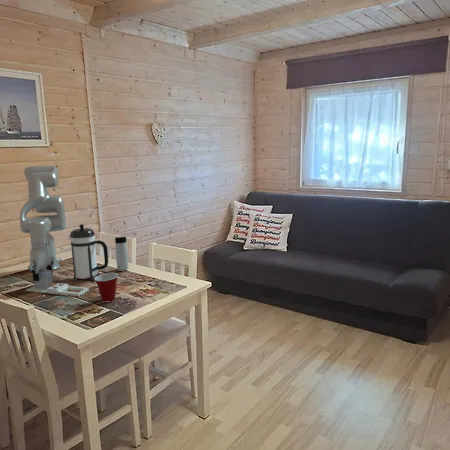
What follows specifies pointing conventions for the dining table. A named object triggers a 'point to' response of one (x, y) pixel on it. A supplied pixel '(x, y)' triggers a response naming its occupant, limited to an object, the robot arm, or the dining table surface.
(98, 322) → the dining table surface
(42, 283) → the medicine box
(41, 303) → the dining table surface
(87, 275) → the coffee press
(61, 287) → the power strip dock
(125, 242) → the travel mug
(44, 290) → the sage mat
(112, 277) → the plastic cup
